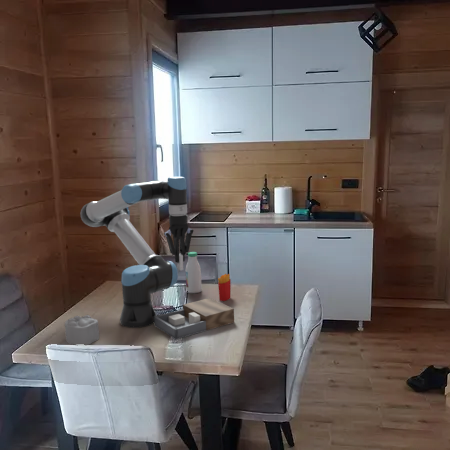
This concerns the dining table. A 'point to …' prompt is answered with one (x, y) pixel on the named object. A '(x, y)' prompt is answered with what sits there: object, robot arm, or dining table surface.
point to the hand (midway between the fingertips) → (180, 269)
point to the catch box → (180, 329)
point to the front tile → (193, 318)
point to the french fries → (224, 287)
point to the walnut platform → (211, 312)
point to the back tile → (176, 319)
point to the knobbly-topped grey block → (81, 330)
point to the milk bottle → (193, 274)
